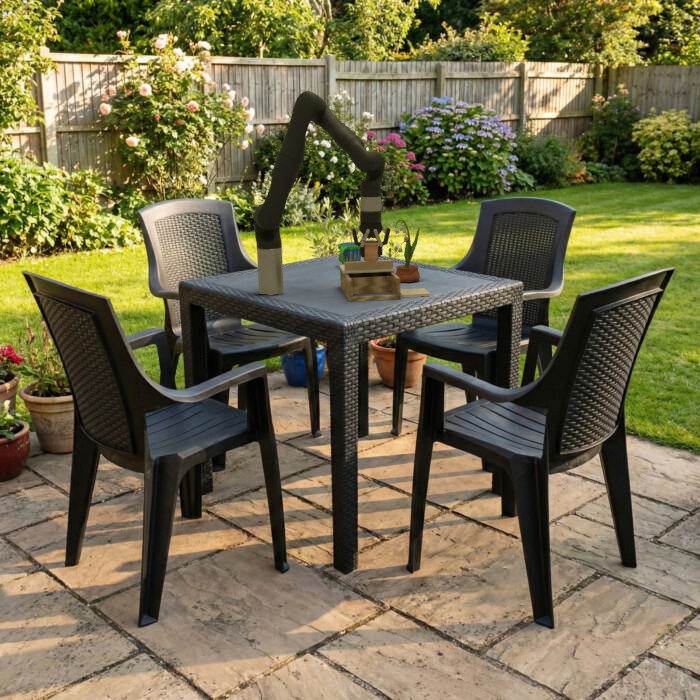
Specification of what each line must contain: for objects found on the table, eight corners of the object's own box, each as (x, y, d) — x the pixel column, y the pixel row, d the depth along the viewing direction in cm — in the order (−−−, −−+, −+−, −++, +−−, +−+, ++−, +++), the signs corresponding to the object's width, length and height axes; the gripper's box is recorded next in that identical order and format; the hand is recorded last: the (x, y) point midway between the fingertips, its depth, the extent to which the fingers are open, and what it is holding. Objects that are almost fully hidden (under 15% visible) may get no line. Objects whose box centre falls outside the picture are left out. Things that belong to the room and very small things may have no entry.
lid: (343, 273, 321) (343, 262, 320) (339, 267, 334) (339, 256, 333) (395, 271, 323) (395, 260, 322) (389, 265, 336) (389, 254, 335)
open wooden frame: (349, 301, 311) (348, 281, 309) (340, 286, 337) (340, 267, 335) (400, 299, 313) (400, 278, 311) (387, 284, 339) (387, 265, 337)
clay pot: (364, 262, 311) (364, 242, 309) (362, 259, 317) (361, 240, 315) (380, 261, 312) (380, 241, 310) (377, 259, 317) (377, 239, 315)
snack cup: (349, 271, 369) (348, 247, 366) (330, 268, 375) (329, 245, 373) (371, 265, 380) (371, 242, 378) (352, 263, 387) (352, 240, 384)
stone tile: (402, 297, 315) (402, 294, 315) (397, 292, 325) (397, 289, 325) (429, 296, 316) (429, 293, 316) (424, 290, 326) (424, 288, 326)
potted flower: (394, 284, 339) (394, 219, 333) (386, 279, 348) (385, 216, 342) (423, 282, 342) (423, 218, 336) (415, 277, 351) (414, 215, 345)
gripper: (389, 207, 314) (389, 254, 318) (349, 208, 312) (349, 255, 317) (392, 210, 307) (392, 258, 311) (351, 211, 305) (352, 259, 309)
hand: (371, 256), depth 314 cm, fingers closed on clay pot, 5 cm apart
